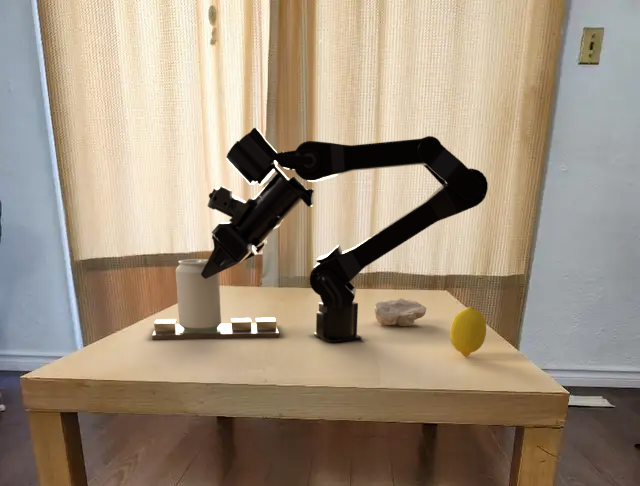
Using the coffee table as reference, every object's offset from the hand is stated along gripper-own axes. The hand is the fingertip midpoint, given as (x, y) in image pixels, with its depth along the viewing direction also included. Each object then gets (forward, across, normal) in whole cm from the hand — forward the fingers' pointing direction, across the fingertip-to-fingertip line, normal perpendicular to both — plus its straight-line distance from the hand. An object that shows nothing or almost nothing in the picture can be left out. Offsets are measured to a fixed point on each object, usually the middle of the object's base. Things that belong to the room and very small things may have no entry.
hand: (210, 273), depth 101 cm
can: (+9, 0, +5) cm, 10 cm away
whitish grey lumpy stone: (-16, -15, +32) cm, 39 cm away
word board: (+7, -1, +8) cm, 11 cm away
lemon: (-23, +10, +39) cm, 46 cm away
